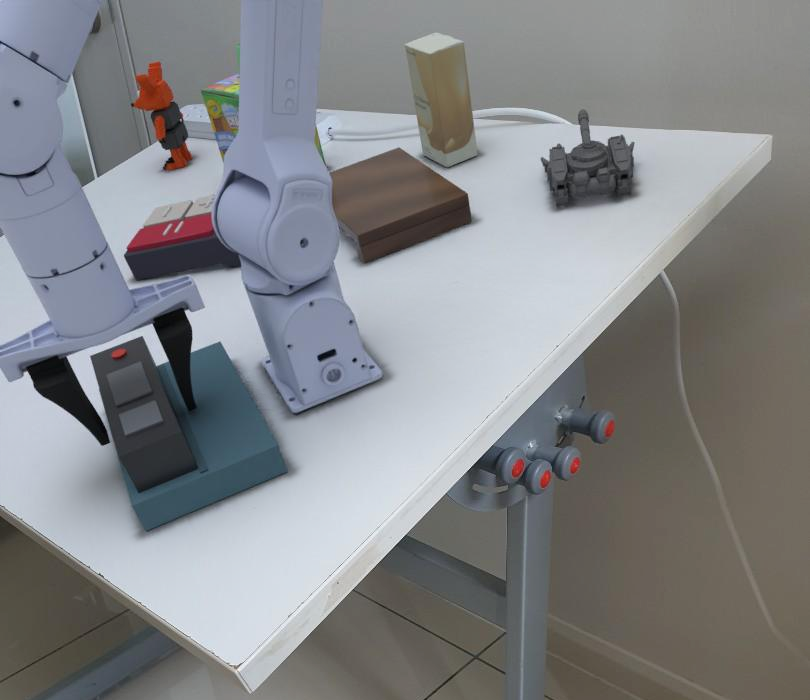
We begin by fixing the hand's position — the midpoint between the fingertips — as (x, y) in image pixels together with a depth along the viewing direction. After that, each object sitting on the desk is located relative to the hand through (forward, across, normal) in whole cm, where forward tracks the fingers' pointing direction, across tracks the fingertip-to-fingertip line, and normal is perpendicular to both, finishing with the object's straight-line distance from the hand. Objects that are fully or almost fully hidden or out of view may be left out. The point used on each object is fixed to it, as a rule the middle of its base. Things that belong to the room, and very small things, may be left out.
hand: (147, 420), depth 67 cm
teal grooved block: (+3, -2, 0) cm, 4 cm away
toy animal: (+3, -14, -67) cm, 69 cm away
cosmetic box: (+3, -42, -36) cm, 56 cm away
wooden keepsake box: (+3, -30, -27) cm, 41 cm away
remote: (0, 0, 0) cm, 1 cm away
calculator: (+3, -12, -35) cm, 37 cm away
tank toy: (+3, -50, -17) cm, 52 cm away
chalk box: (+3, -24, -48) cm, 54 cm away
